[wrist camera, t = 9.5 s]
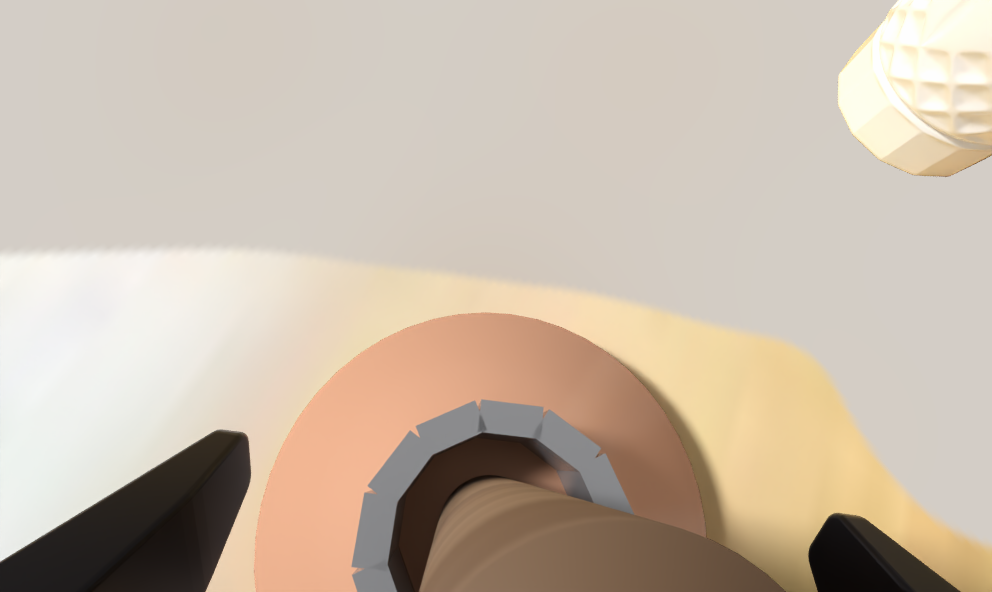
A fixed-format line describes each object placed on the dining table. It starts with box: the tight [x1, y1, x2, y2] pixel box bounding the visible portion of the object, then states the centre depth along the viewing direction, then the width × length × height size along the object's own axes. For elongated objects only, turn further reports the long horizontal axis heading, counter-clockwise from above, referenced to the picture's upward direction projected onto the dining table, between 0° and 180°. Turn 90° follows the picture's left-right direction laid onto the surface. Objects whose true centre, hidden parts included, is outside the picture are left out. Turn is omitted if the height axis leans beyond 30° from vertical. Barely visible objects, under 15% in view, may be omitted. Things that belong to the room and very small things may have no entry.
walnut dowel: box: [419, 475, 786, 592], centre depth 9 cm, size 3×3×13 cm
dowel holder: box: [254, 313, 706, 592], centre depth 15 cm, size 13×13×4 cm
